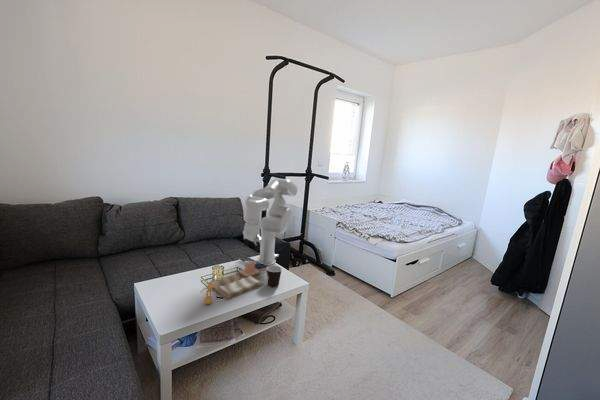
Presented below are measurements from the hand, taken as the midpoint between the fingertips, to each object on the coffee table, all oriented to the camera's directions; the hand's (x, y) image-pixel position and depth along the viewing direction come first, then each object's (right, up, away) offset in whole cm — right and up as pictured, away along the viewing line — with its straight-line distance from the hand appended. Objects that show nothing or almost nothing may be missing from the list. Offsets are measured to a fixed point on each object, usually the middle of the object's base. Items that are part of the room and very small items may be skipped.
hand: (251, 248), depth 165 cm
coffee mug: (+14, -20, -4) cm, 24 cm away
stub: (-1, -15, +3) cm, 16 cm away
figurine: (-16, -23, -29) cm, 41 cm away
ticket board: (-7, -19, -10) cm, 23 cm away
